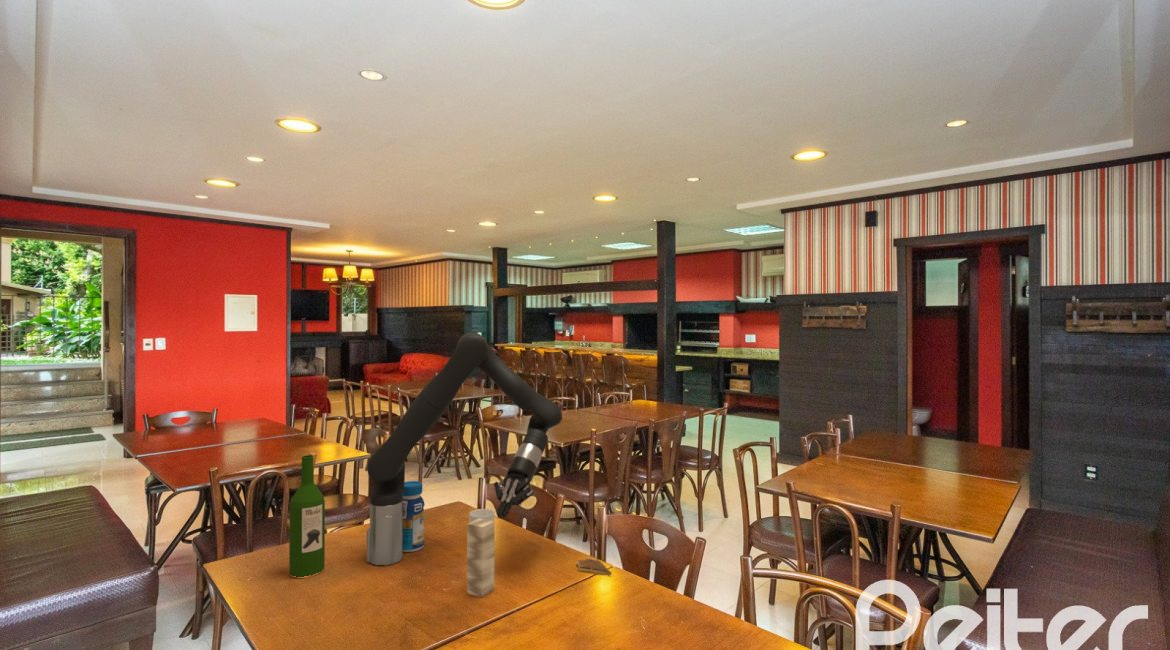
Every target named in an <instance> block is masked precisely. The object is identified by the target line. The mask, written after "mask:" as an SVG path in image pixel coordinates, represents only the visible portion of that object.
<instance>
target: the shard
mask: <svg viewBox="0 0 1170 650" xmlns="http://www.w3.org/2000/svg"><path fill="white" fill-rule="evenodd" d="M575 562H576V564H577V565H578V567H577V571H578V572H585V573H591V574H594V575H598V576H599V575H600V576H605V575H608V576H607V577H610V576H609V575H611V576H612V573H613V572H612V571H610V570H609V569H608V568H607V567H606V566H605V565H604V563H603V562H602V561H600V560H599V559H596V558H585V559H578V560H576V561H575Z"/></svg>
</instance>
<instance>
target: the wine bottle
mask: <svg viewBox="0 0 1170 650" xmlns="http://www.w3.org/2000/svg"><path fill="white" fill-rule="evenodd" d="M314 472H315V471H314V455H313V454H306V455H303V456H301V477H300V478H301V480H300V481H301V483H300V485H299V487H298V488H297V490H296V491H295V493H294V495H292V497H291V499H290V502H289V551H288V552H289V561H288V562H289V569H288V571H289V576H290V575H292V576H296V577H304V576H309V575H313V574H316V573H319V572H321V571H322V570H323V569H324V570H325V568H324V567H326V566H325V564H326V563H325V561H326V560H325V556H326V554H325V553H326V552H325V551H326V550H325V545H326V544H325V543H326V542H325V541H326V539H325V536H326V535H325V534H326V532H325V528H326V527H325V525H326V522H325V521H326V520H325V519H326V517H325V516H326V514H325V513H326V507H325V505H326V501H325V497H324V496H325V495H324V494H323V493H322V492H321V490H320V489H319V488H318V486H317V485H316V483H315V479H314ZM324 570H323V571H324Z"/></svg>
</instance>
